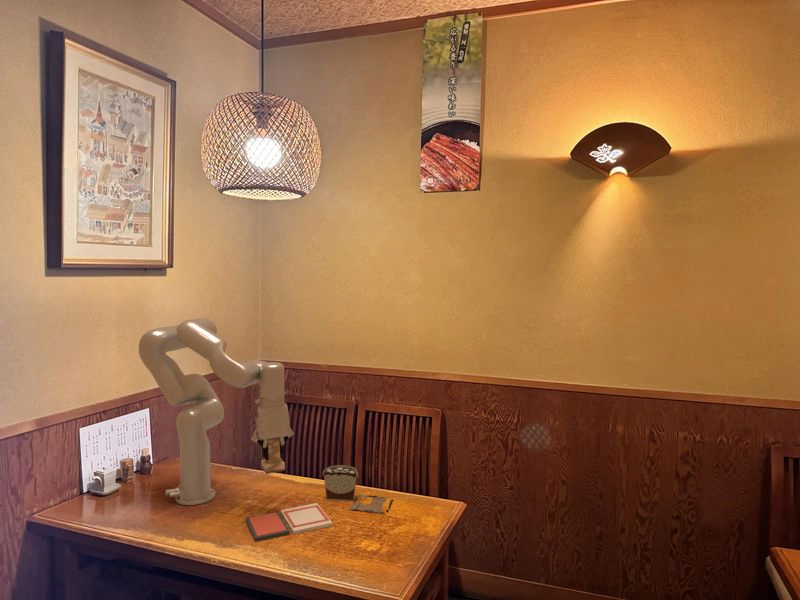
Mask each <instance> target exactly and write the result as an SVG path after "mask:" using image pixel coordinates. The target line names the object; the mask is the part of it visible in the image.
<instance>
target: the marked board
mask: <svg viewBox="0 0 800 600" xmlns="http://www.w3.org/2000/svg"><path fill="white" fill-rule="evenodd" d="M280 515H281V517H282V519H283V520H284V522H285V524H286V525H287V527H288V529H289V530H290V532H291V533H292V534H293V535H297V534H301V533H306V532H310V531H314V530H315V531H316V530H319V529H324V528H329V527H333V522H332V521H331V519H330V518H329V516H328V515H327V513H325V512H324V510H323V509H322V508H321V506H320V505H319V504H318V503H317V502H315V503H310V504H304V505H299V506H296V507H291V508H290V507H289V508H285V509H280Z"/></svg>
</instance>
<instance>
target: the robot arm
mask: <svg viewBox="0 0 800 600" xmlns="http://www.w3.org/2000/svg"><path fill="white" fill-rule="evenodd" d="M217 330H218V329H217V326H216V324H215V322H213V320H211V319H209V318H206V317H200V318H192V319H188V320H184V321H182V322H180V323H179V324H177V325H170V326H163V327H157V328H153V329H150V330H147V331H146V332H145V333H144V334H143V335H142V336H141V337H140V340H139V343H138V354H139V357H140V360H141V361H142V363H143V365H144V366H145V367H146V369H147V370H148V371H149V372H150V374H151V376H152V377H153V379H154V381H155V383H156V384H157V385H158V388H159V390H160V391H161V392H162V394H163V396H164V398H165V399H166V401H167V403H169V404H170V405H171V406H173V407H181V406H182V407H183V406H185V405H188V404H190V403H192V404H191V405H189V406H187V407H185V408H184V409H182V410H181V411H180V412H179V413H178V414H177V417H176V421H175V422H176V423H175V425H176V430H177V434H178V441H179V468H180V469H179V477H180V483H179V484H178V486H177V487H175V488H169V489H165V496H166V497H167V496H169V497H170V498H173V497H175V501H176V503H177V504H179V505H183V506H196V505H197V506H198V505H201V504H204V503H208V502H209V501H212V500H213V499H214V498H215V497H216V490H215V489H214V488H213V487H211V443H210V440H209V437H208V435H207V431H208V430H209V429H211V428H213V427H215V426H218V425H219V424H221V423H222V421H223V420H224V417H225V409H224V405H223V404H222V402H221V400H220V398H219V397H218V395H217V394H216V392H215V390H214V388H213V387H212V384H211V383H210V382H209V380H208V379H207V378H206V377H204V376H203V374H202V375H201V374H200V373H190V374H185V373H184V372H183V371H182V369H181V368H180V366H179V365H178V363H177V362H176V361H175V360H174V359H173V358H172V357H170V356H169V355H168V354H167V353H168V352H173V351H178V350H179V351H180V350H182V349H183V350H184V349H186V348H187V349H188V348H189V349H190V350H192V351H193V352H195V353H196V354H197V355H199V356H201V357H202V358H204V359H206V361H208V363H209V366H210V368H211V370H212V371H213V373H214V374H215V375H216V376H217V377H218V378H219V379H220V380H222V381H223V382H225V383H227V384H228V385H230V386H232V387H234V388H236V389H237V388H238V389H244V388H247V387H250V386H252V385H255V384H258V383H259V397H258V399H255V404H256V405H258V406H257V411H256V412H257V413H256V420H255V429H254V432H253V433H252V435H251V437H250V440H251V441H252V442H253V443H254V442H255V443H256V444H258V445H260V446H261V450H262V451H261V456H262V458H263V459H265V460H268V447H267V441H268V439H272V438H279V439H280V458H281V459H282V458H283V455H284V445H285V443H286V442H287V441H288V440H289V438H291V437H292V436H294V435H295V432H294V431H293V430H292V428H291V425H290V424H291V423H290V413H289V407H288V404H286V403H285V365H284V364H283V363H282V362H279V361H278V362H277V361H275V362H274V361H264V360H260V359H252V360H248V361H244V362H241V363H239V362H237V361H235V360H233V359H232V358H230V357H229V355H227V354H226V353H225V352H226V350H227V346H228V342H227V341H226V339H225V338H223V337H222V336H220V335H219V334H217V332H218V331H217Z"/></svg>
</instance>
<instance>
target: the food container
mask: <svg viewBox="0 0 800 600" xmlns="http://www.w3.org/2000/svg"><path fill="white" fill-rule="evenodd" d="M321 476H322V477H323V479H324V489H325V498H326V500H327V501H328V500H329V501H345V502H354V501H355V495H356V484H357V478H359V473H358V470H357V469H356V468H355V467H353V466H351V465H344V464H342V465H341V464H339V465H332V466H328V467H326V468H325V469H323V471H322V474H321Z"/></svg>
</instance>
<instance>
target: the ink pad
mask: <svg viewBox="0 0 800 600" xmlns="http://www.w3.org/2000/svg"><path fill="white" fill-rule="evenodd" d="M245 522H246V524H247V527H248V530H249V531H250V533H251V535H252V538H253V540H254V542H256V543H257V542H259V541H260V542H261V541H264V540H265V541H266V540H269V539H274V538H279V537H284V536H289V535H291V529H290V528H289V526H288V525H287V523H286V521H285V520H284V518H283V516H282V515H281V513H280V512H279V510H278V511H274V512H268V513H263V514H258V515H252V516H248V517H247V516H246V517H245Z"/></svg>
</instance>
